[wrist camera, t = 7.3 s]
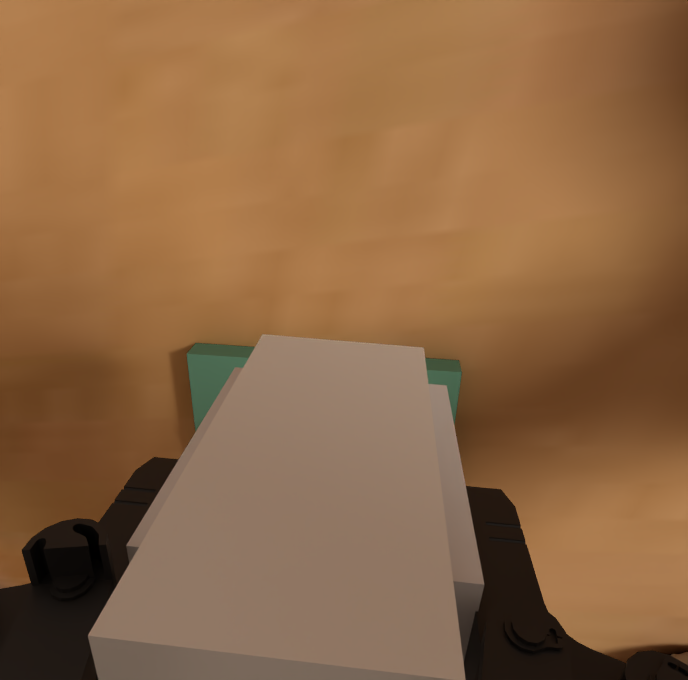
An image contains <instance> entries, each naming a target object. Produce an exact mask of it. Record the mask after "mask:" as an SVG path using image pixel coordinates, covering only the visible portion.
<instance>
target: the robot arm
mask: <svg viewBox="0 0 688 680" xmlns="http://www.w3.org/2000/svg"><path fill="white" fill-rule="evenodd" d="M242 369H243V368H238V367H235V368H234V370H233V372H232V373H231V375H230V376H229V378H228V380H227V381H226V383H225V385H224V386H223V388H222V390H221V391H220V393H219V394H218V396H217V398H216V399H215V401H214V403H213V404H212V406H211V408H210V409H209V411H208V412H207V414H206V416H205V417H204V419H203V421H202V422H201V424H200V426H199V427H198V429H197V430H196V432H195V434H194V435H193V437H192V439H191V440H190V442H189V444H188V445H187V447H186V448H185V450H184V452H183V453H182V455H181V457H180V458H179V459H168V458H158V457H154V458H152V459H151V460H149V461H148V462H147V463H145V464H144V465H142V466H141V467H140V468H138V469H137V470H136V471H135V472H134V473H133V475H132V476H131V478H130V479H129V480H128V482H127V483H126V485H125V486H124V490H121V492H120V493H119V495H118V496H117V497H116V499H115V502H114V503H112V504H111V506H110V507H109V509H108V510H107V511H106V513H105V514H104V516H103V517H102V518H101V520H100V521H99V523H97V522H95V521H93V520H91V519H78V518H77V519H72V520H66V521H61V522H59V523H56V524H54V525H52V526H49V527H47V528H45V529H44V530H42V531H41V532H39V533H38V534H37V535H35V536H34V537H32V538H31V539H30V541H29V542H28V543H27V544H26V546H25V547H24V548H23V549H22V553H23V557H24V560H25V564H26V567H27V571H28V574H29V577H30V581H31V583H29V584H25V585H21V586H15V587H9V588H3V589H0V680H98V676H97V672H96V668H95V664H94V659H93V655H92V651H91V647H90V643H89V639H88V634H89V633H90V631H91V629H92V627H93V626H94V624H95V622H96V621H97V619H98V617H99V615H100V614H101V612H102V610H103V609H104V607H105V605H106V603H107V602H108V600H109V598H110V596H111V595H112V593H113V591H114V590H115V588H116V586H117V584H118V583H119V581H120V579H121V577H122V576H123V574H124V572H125V571H126V569H127V567H128V565H129V564H130V562H131V560H132V559H133V557H134V555H135V553H136V552H137V550H138V548H139V546H140V545H141V543H142V541H143V540H144V538H145V536H146V534H147V533H148V531H149V529H150V527H151V526H152V524H153V522H154V521H155V519H156V517H157V515H158V514H159V512H160V510H161V509H162V507H163V505H164V503H165V502H166V500H167V498H168V496H169V495H170V493H171V491H172V490H173V488H174V486H175V484H176V483H177V481H178V479H179V477H180V476H181V474H182V472H183V471H184V469H185V467H186V465H187V464H188V462H189V460H190V458H191V457H192V455H193V453H194V452H195V450H196V448H197V446H198V445H199V443H200V441H201V440H202V438H203V436H204V434H205V433H206V431H207V429H208V427H209V426H210V424H211V422H212V421H213V419H214V417H215V415H216V414H217V412H218V410H219V408H220V407H221V405H222V403H223V402H224V400H225V398H226V396H227V395H228V393H229V391H230V390H231V388H232V386H233V384H234V383H235V381H236V379H237V377H238V376H239V374H240V372H241V371H242ZM428 385H429V393H430V401H431V409H432V417H433V424H434V432H435V440H436V448H437V456H438V464H439V472H440V480H441V488H442V496H443V504H444V512H445V520H446V528H447V536H448V544H449V552H450V560H451V567H452V575H453V583H454V591H455V599H456V607H457V615H458V623H459V631H460V639H461V647H462V655H463V663H464V671H465V679H466V680H688V665H687V664H685V663H683V662H681V661H680V660H678V659H676V658H674V657H672V656H671V655H667V654H663V653H660V652H656V651H643V652H637V653H636V654H635V655H633V656H632V657H631V658H629V659H628V661H627V663H624V662H622V661H619V660H617V659H614V658H612V657H609V656H607V655H604V654H602V653H599V652H597V651H595V650H592V649H590V648H588V647H586V646H584V645H582V644H580V643H578V642H577V641H575V640H574V639H573V638H571V637H570V636H568V635H567V634H566V632H565V630H564V629H563V628H562V626H561V625H560V623H559V622H558V621H557V619H556V618H555V617H554V616H552V615H551V614H550V613H549V612H548V611H547V608H546V606H545V604H544V601H543V597H542V594H541V591H540V587H539V584H538V581H537V578H536V574H535V571H534V568H533V564H532V561H531V558H530V555H529V551H528V548H527V545H525V538H524V535H523V531H522V529H521V528H520V526H521V525H520V522H519V518H518V515H517V512H516V508H515V506H514V505H513V504H512V502H511V501H510V500H509V499H508V498H507V496H506V495H505V494H504V493H503V491H502V490H501V489H490V488H480V487H470V486H466V485H465V480H464V474H463V469H462V464H461V458H460V453H459V448H458V443H457V437H456V432H455V427H454V421H453V416H452V411H451V406H450V400H449V395H448V390H447V385H436V384H428Z"/></svg>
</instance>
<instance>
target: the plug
mask: <svg viewBox="0 0 688 680" xmlns="http://www.w3.org/2000/svg"><path fill="white" fill-rule="evenodd" d="M88 639H89V643H90V647H91V651H92V655H93V659H94V664H95V668H96V672H97V676H98V680H466V679H465V671H464V663H463V655H462V647H461V639H460V631H459V623H458V615H457V607H456V599H455V591H454V583H453V575H452V567H451V560H450V552H449V544H448V536H447V528H446V520H445V512H444V504H443V496H442V488H441V480H440V472H439V464H438V456H437V448H436V440H435V432H434V424H433V417H432V409H431V401H430V393H429V385H428V377H427V369H426V361H425V353H424V348H423V347H410V346H398V345H386V344H374V343H362V342H350V341H338V340H325V339H313V338H301V337H289V336H277V335H265V334H262V336H261V338H260V340H259V341H258V343H257V345H256V346H255V348H254V350H253V352H252V353H251V355H250V357H249V358H248V360H247V362H246V364H245V365H244V367H243V369H242V371H241V372H240V374H239V376H238V377H237V379H236V381H235V383H234V384H233V386H232V388H231V390H230V391H229V393H228V395H227V396H226V398H225V400H224V402H223V403H222V405H221V407H220V408H219V410H218V412H217V414H216V415H215V417H214V419H213V421H212V422H211V424H210V426H209V427H208V429H207V431H206V433H205V434H204V436H203V438H202V440H201V441H200V443H199V445H198V446H197V448H196V450H195V452H194V453H193V455H192V457H191V458H190V460H189V462H188V464H187V465H186V467H185V469H184V471H183V472H182V474H181V476H180V477H179V479H178V481H177V483H176V484H175V486H174V488H173V490H172V491H171V493H170V495H169V496H168V498H167V500H166V502H165V503H164V505H163V507H162V509H161V510H160V512H159V514H158V515H157V517H156V519H155V521H154V522H153V524H152V526H151V527H150V529H149V531H148V533H147V534H146V536H145V538H144V540H143V541H142V543H141V545H140V546H139V548H138V550H137V552H136V553H135V555H134V557H133V559H132V560H131V562H130V564H129V565H128V567H127V569H126V571H125V572H124V574H123V576H122V577H121V579H120V581H119V583H118V584H117V586H116V588H115V590H114V591H113V593H112V595H111V596H110V598H109V600H108V602H107V603H106V605H105V607H104V609H103V610H102V612H101V614H100V615H99V617H98V619H97V621H96V622H95V624H94V626H93V627H92V629H91V631H90V633H89V634H88Z"/></svg>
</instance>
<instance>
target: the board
mask: <svg viewBox="0 0 688 680" xmlns="http://www.w3.org/2000/svg"><path fill="white" fill-rule="evenodd" d="M254 348H255V347H248V346H233V345H217V344H202V343H195V345H194V346H193V347H192V348H191V349H190V350H189V352H188V353H187V362H188V370H189V379H190V388H191V396H192V405H193V414H194V423H195V431H196V430H197V429H198V427H199V426H200V424H201V422H202V421H203V419H204V417H205V416H206V414H207V412H208V411H209V409H210V408H211V406H212V404H213V403H214V401H215V399H216V398H217V396H218V394H219V393H220V391H221V390H222V388H223V386H224V385H225V383H226V381H227V380H228V378H229V376H230V375H231V373H232V372H233V370H234V368H235V367H238V368H243V367H244V365H245V364H246V362H247V360H248V358H249V357H250V355H251V353H252V352H253V350H254ZM425 361H426V369H427V377H428V384H436V385H447V390H448V395H449V400H450V406H451V411H452V416H453V421H454V425H455V418H456V411H457V404H458V396H459V389H460V382H461V375H462V371H461V367H460V363H459V360H446V359H430V358H425Z"/></svg>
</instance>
